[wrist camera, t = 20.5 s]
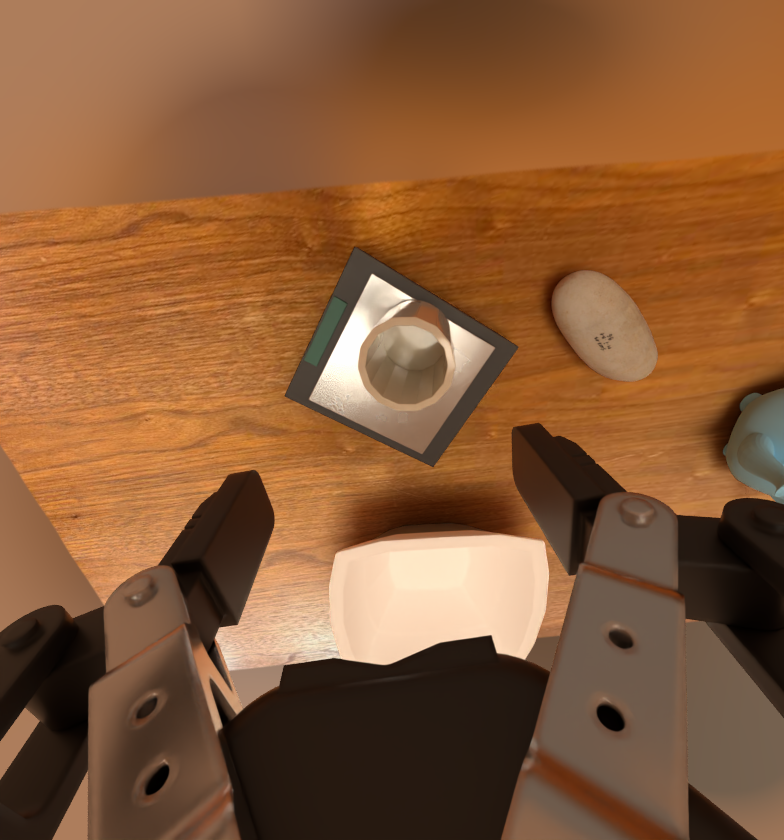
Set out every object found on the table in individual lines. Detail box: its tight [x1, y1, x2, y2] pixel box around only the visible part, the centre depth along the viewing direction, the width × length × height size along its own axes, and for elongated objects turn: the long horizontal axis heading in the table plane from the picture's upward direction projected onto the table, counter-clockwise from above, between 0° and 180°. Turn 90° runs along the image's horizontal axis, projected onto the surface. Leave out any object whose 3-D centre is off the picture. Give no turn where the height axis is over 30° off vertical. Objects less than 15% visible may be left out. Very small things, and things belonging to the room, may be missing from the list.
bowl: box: [329, 523, 549, 665], centre depth 41 cm, size 22×23×8 cm
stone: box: [551, 270, 658, 381], centre depth 31 cm, size 6×6×12 cm
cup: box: [358, 300, 456, 411], centre depth 26 cm, size 6×6×8 cm
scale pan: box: [309, 273, 495, 454], centre depth 31 cm, size 12×12×1 cm
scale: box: [285, 247, 518, 467], centre depth 33 cm, size 16×14×3 cm
